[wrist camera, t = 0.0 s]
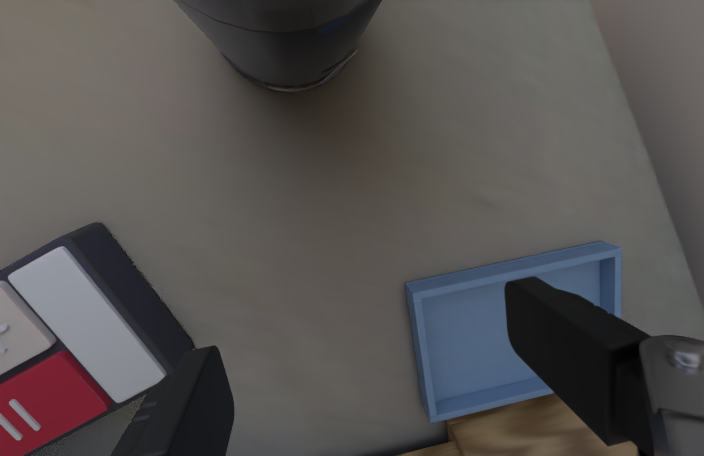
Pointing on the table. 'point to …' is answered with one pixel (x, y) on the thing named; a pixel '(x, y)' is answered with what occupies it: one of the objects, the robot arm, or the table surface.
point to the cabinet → (530, 432)
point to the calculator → (77, 339)
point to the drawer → (436, 450)
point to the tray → (494, 326)
